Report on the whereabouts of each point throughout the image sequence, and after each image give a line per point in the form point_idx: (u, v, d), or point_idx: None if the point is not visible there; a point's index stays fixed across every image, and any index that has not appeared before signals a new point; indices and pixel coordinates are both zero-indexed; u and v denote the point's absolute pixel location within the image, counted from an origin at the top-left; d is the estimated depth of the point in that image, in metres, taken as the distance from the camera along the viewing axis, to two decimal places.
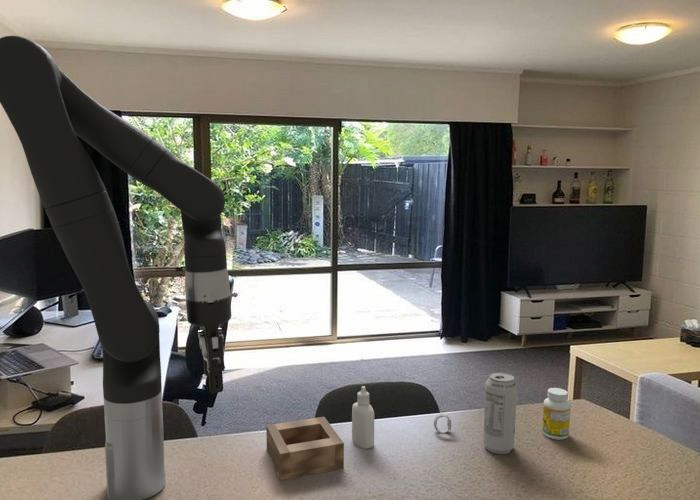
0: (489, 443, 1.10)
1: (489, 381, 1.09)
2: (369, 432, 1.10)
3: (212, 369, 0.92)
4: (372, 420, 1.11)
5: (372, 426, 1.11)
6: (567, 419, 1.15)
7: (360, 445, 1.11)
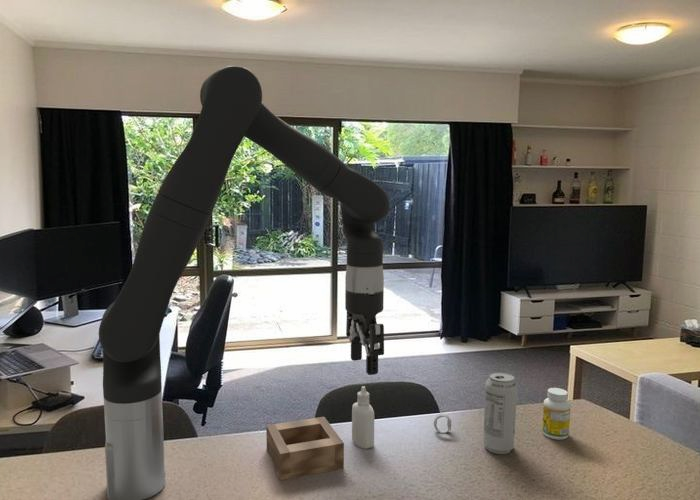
0: (489, 443, 1.10)
1: (489, 381, 1.09)
2: (369, 432, 1.10)
3: (373, 353, 1.04)
4: (372, 420, 1.11)
5: (372, 426, 1.11)
6: (567, 419, 1.15)
7: (360, 445, 1.11)
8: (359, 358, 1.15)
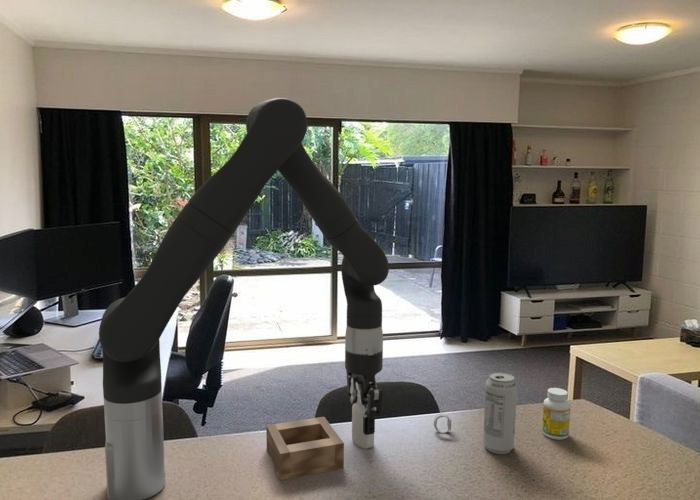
0: (489, 443, 1.10)
1: (489, 381, 1.09)
2: None
3: (370, 415, 1.07)
4: None
5: None
6: (567, 419, 1.15)
7: (360, 445, 1.11)
8: None
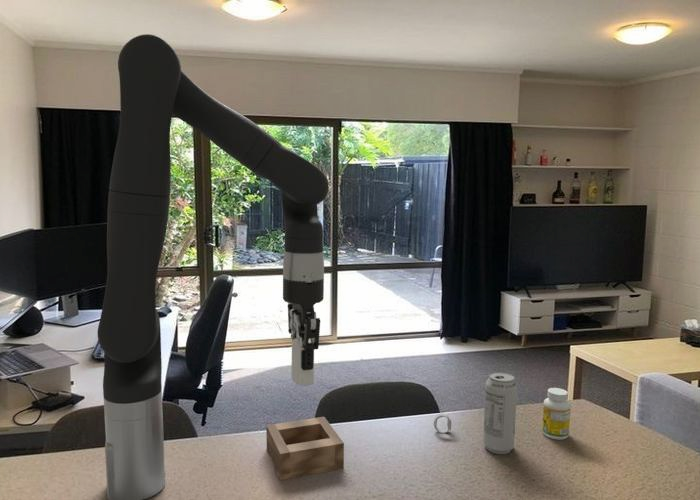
0: (489, 443, 1.10)
1: (489, 381, 1.09)
2: None
3: (307, 347, 0.98)
4: None
5: None
6: (567, 419, 1.15)
7: (298, 382, 1.03)
8: None
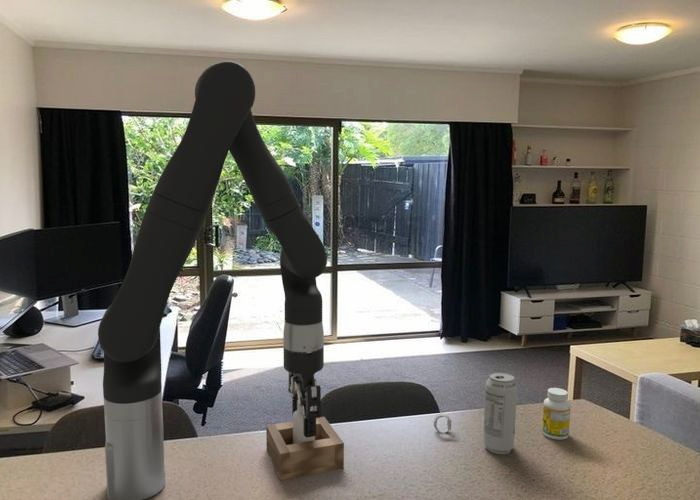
0: (489, 443, 1.10)
1: (489, 381, 1.09)
2: None
3: (309, 416, 0.99)
4: None
5: None
6: (567, 419, 1.15)
7: None
8: None
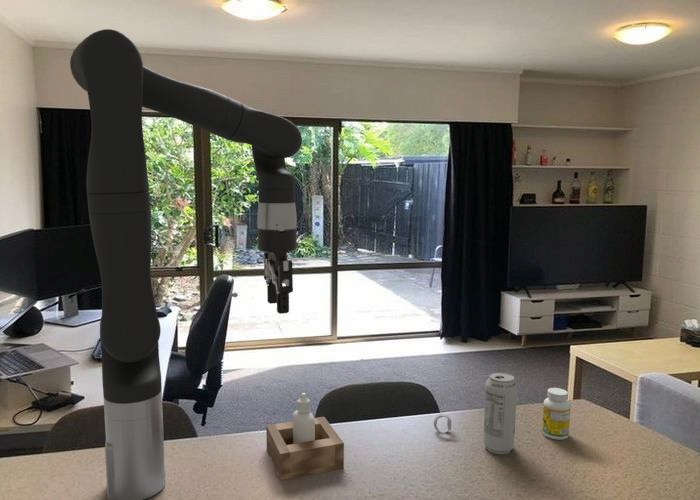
0: (489, 443, 1.10)
1: (489, 381, 1.09)
2: None
3: (282, 289, 1.02)
4: (312, 429, 1.04)
5: (312, 435, 1.04)
6: (567, 419, 1.15)
7: None
8: (276, 301, 1.13)
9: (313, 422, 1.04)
